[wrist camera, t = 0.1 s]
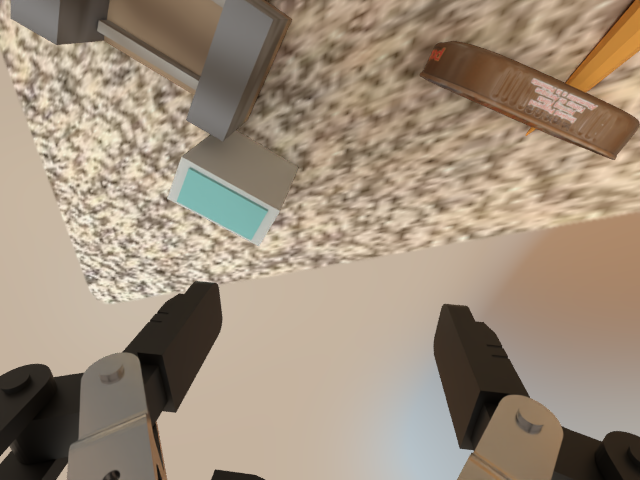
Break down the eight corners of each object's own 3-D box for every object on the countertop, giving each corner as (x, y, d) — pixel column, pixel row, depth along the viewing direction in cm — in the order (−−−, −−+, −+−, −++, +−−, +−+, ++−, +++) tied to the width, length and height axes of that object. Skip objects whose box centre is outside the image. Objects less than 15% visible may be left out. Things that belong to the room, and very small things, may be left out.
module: (224, 123, 31) (179, 158, 24) (298, 167, 33) (279, 213, 25) (210, 158, 33) (165, 200, 26) (281, 197, 35) (257, 248, 27)
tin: (410, 73, 27) (427, 89, 20) (431, 30, 25) (457, 31, 18) (567, 142, 29) (635, 180, 22) (596, 107, 27) (680, 135, 20)
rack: (95, -118, 23) (12, -160, 17) (291, 19, 26) (273, 19, 21) (79, 18, 28) (10, 18, 22) (247, 119, 31) (223, 141, 25)
